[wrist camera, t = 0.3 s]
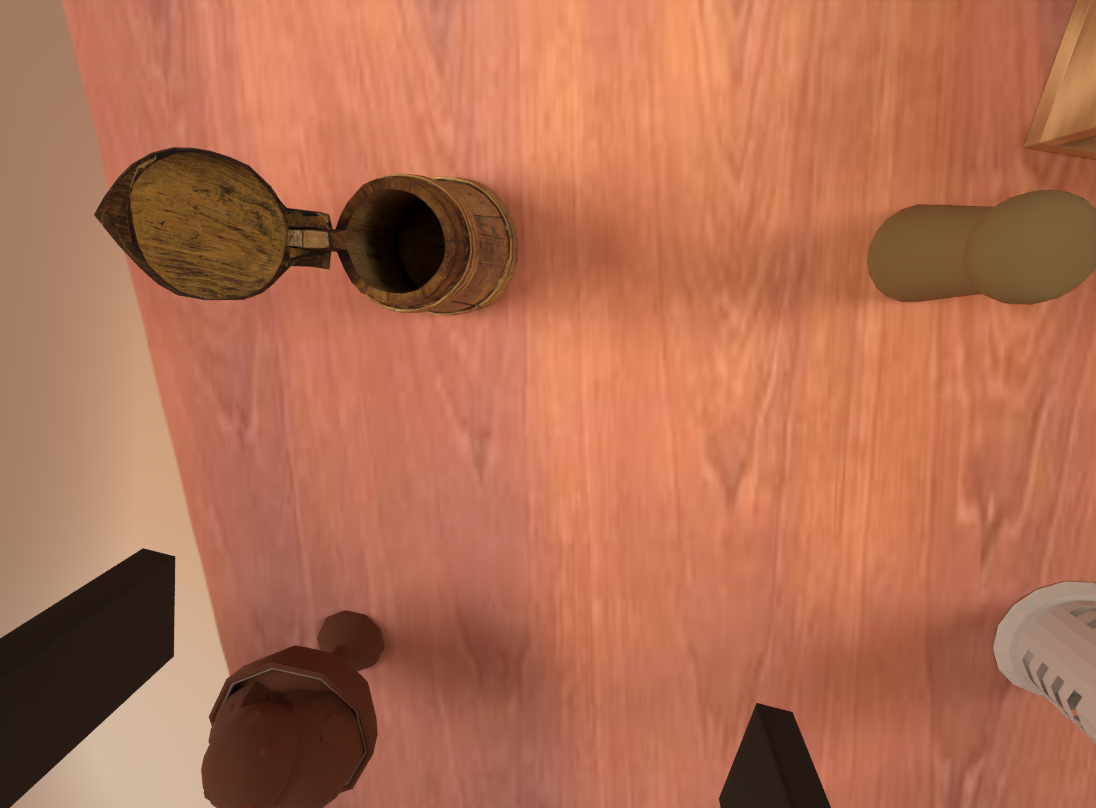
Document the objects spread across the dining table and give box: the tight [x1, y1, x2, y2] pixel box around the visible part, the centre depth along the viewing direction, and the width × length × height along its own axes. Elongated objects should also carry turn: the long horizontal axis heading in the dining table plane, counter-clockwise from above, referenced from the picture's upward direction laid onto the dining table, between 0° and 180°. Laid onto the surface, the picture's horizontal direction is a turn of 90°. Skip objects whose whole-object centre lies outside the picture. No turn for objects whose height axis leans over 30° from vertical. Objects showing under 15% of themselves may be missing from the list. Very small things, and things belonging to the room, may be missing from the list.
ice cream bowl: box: [201, 611, 384, 808], centre depth 38 cm, size 11×11×15 cm
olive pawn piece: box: [868, 190, 1096, 305], centre depth 29 cm, size 6×6×11 cm
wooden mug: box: [94, 147, 518, 315], centre depth 28 cm, size 9×14×18 cm, turn 85°
